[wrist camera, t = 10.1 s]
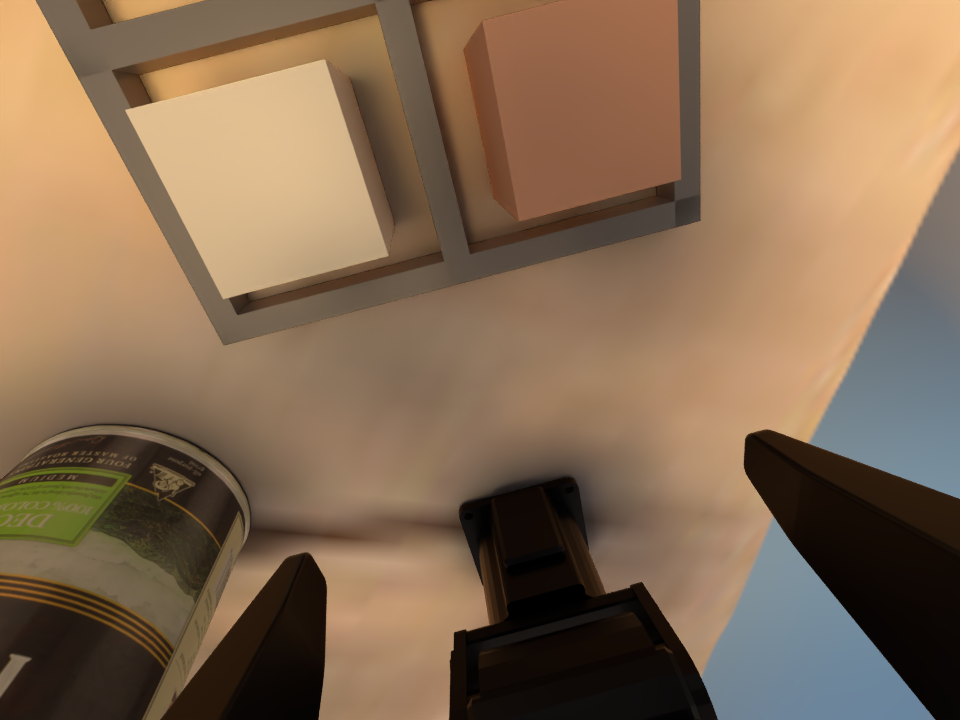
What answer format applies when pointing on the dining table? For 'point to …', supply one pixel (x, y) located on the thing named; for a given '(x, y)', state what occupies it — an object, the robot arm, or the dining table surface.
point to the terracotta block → (577, 101)
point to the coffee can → (110, 571)
